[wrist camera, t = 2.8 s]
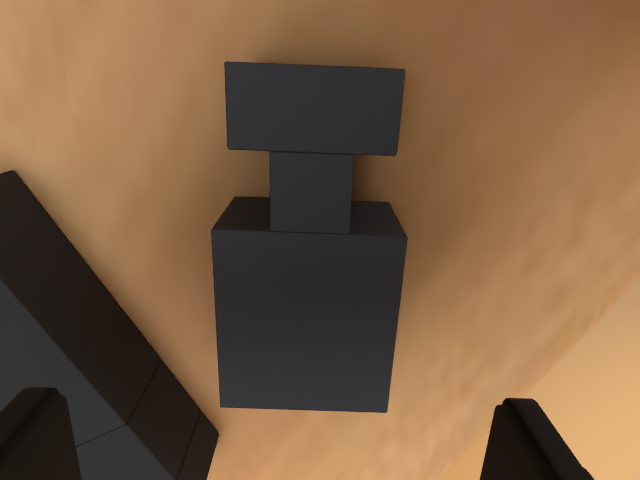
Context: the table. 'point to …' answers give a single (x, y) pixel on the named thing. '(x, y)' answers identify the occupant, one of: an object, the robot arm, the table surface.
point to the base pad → (89, 356)
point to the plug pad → (309, 242)
